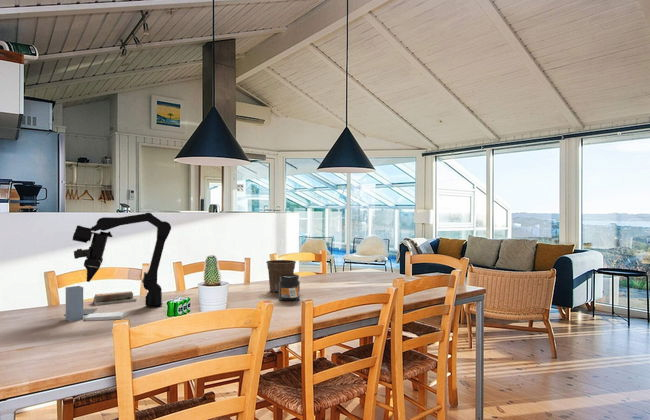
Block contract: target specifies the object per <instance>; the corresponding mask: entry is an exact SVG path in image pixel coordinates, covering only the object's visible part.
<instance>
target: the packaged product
mask: <svg viewBox="0 0 650 420" xmlns="http://www.w3.org/2000/svg"><path fill="white" fill-rule="evenodd" d="M137 300H138V299H137V298H136V297H134V292H133V291H117V292H109V293H107V292H106V293H95V294H94V296H93V301H92V302H93V304H94V305H95V306H106V305H114V304H115V305H116V304H123V303H124V302H125V303H133V302H132V301H134V302H137ZM125 303H124V304H125Z"/></svg>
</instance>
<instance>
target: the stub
mask: <svg viewBox="0 0 650 420" xmlns="http://www.w3.org/2000/svg"><path fill="white" fill-rule="evenodd" d="M83 309H84V287H83V286H81V285H75V286H67V287H65V314H66V316H65V320H66V321H68V322H73V321H74V322H75V321H80V320H81V321H82V320H84V315H83Z"/></svg>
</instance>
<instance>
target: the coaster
mask: <svg viewBox="0 0 650 420" xmlns="http://www.w3.org/2000/svg"><path fill="white" fill-rule="evenodd" d="M97 309H98V308H83V316H87V315H88V314H93V313H94V312H96V311H97ZM63 316H64V317H66V313H65V314H64V315H63Z"/></svg>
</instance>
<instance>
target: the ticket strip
mask: <svg viewBox="0 0 650 420" xmlns="http://www.w3.org/2000/svg"><path fill="white" fill-rule="evenodd" d="M125 316H126V311H118V312H117V311H116V312H98V313H97V312H96V313H94V312H93V313H92V314H88V315H85V316H83V321H86V322H87V321H106V320H107V321H108V320H121V318H122V319H123V318H124V317H125Z"/></svg>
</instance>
